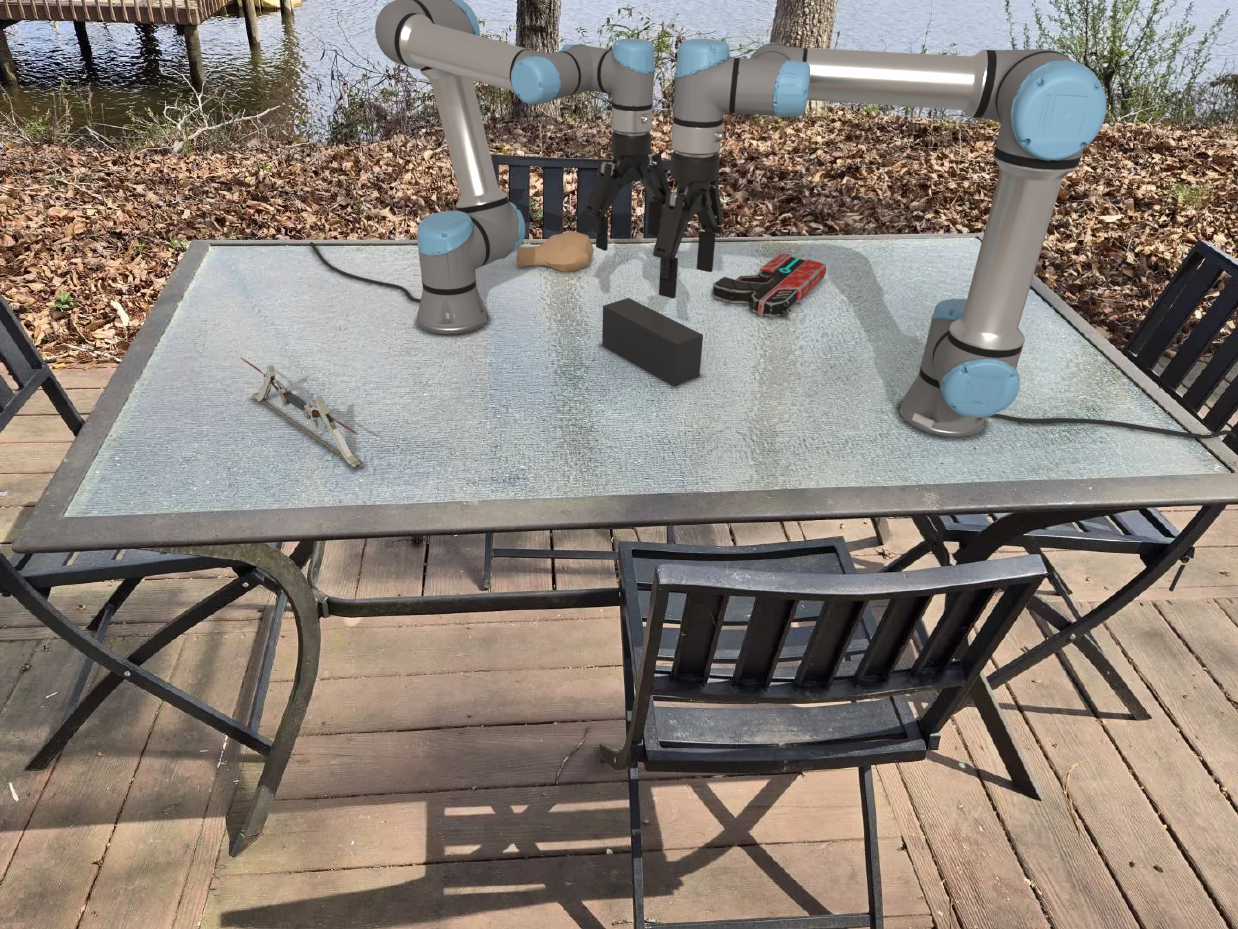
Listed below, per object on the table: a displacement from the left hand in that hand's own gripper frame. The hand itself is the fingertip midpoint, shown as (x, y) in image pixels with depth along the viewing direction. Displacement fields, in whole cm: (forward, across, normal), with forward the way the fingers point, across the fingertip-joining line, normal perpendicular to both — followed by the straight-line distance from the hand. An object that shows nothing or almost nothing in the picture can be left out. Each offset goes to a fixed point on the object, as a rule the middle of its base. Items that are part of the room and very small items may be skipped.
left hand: (628, 241), depth 176 cm
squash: (+23, +15, +46) cm, 54 cm away
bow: (+23, -68, +9) cm, 72 cm away
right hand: (-5, -14, -31) cm, 34 cm away
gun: (+23, +49, +2) cm, 54 cm away
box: (+23, 0, -8) cm, 25 cm away
